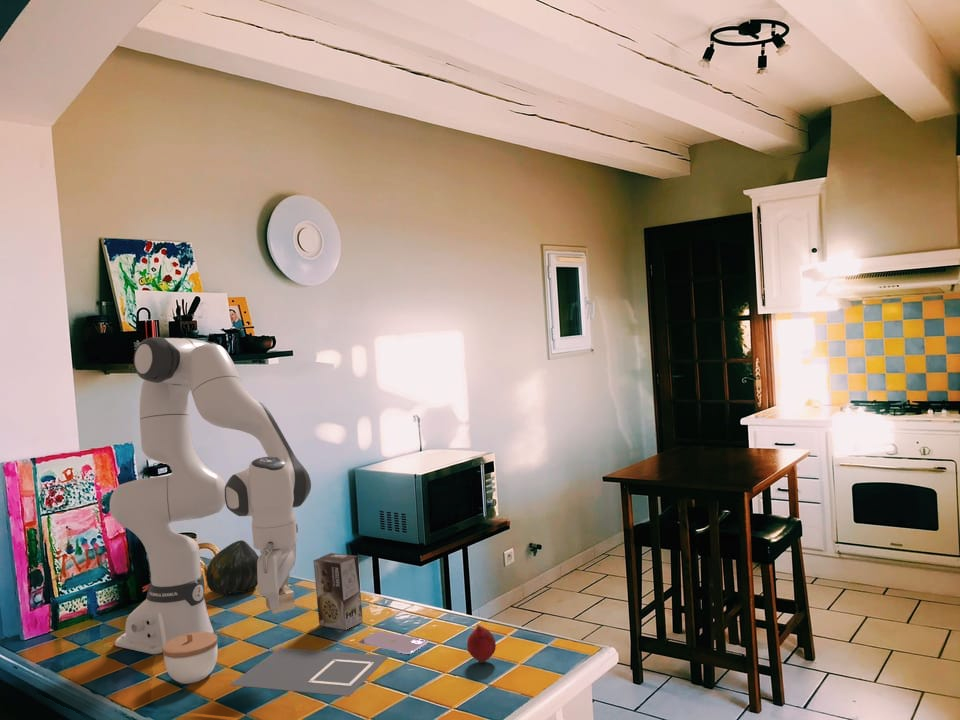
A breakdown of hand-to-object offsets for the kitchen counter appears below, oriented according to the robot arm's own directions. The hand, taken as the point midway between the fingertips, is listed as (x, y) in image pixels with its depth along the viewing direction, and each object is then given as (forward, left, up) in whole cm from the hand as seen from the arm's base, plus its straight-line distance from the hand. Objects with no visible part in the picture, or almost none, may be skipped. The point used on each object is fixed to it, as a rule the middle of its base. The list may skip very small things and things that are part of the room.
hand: (280, 601), depth 157 cm
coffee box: (-1, +25, -15) cm, 29 cm away
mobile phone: (+17, +16, -15) cm, 28 cm away
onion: (+40, +10, -15) cm, 44 cm away
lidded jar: (-18, -7, -15) cm, 24 cm away
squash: (-44, +43, -15) cm, 63 cm away
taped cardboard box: (0, 0, -1) cm, 1 cm away
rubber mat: (+6, 0, -15) cm, 16 cm away
